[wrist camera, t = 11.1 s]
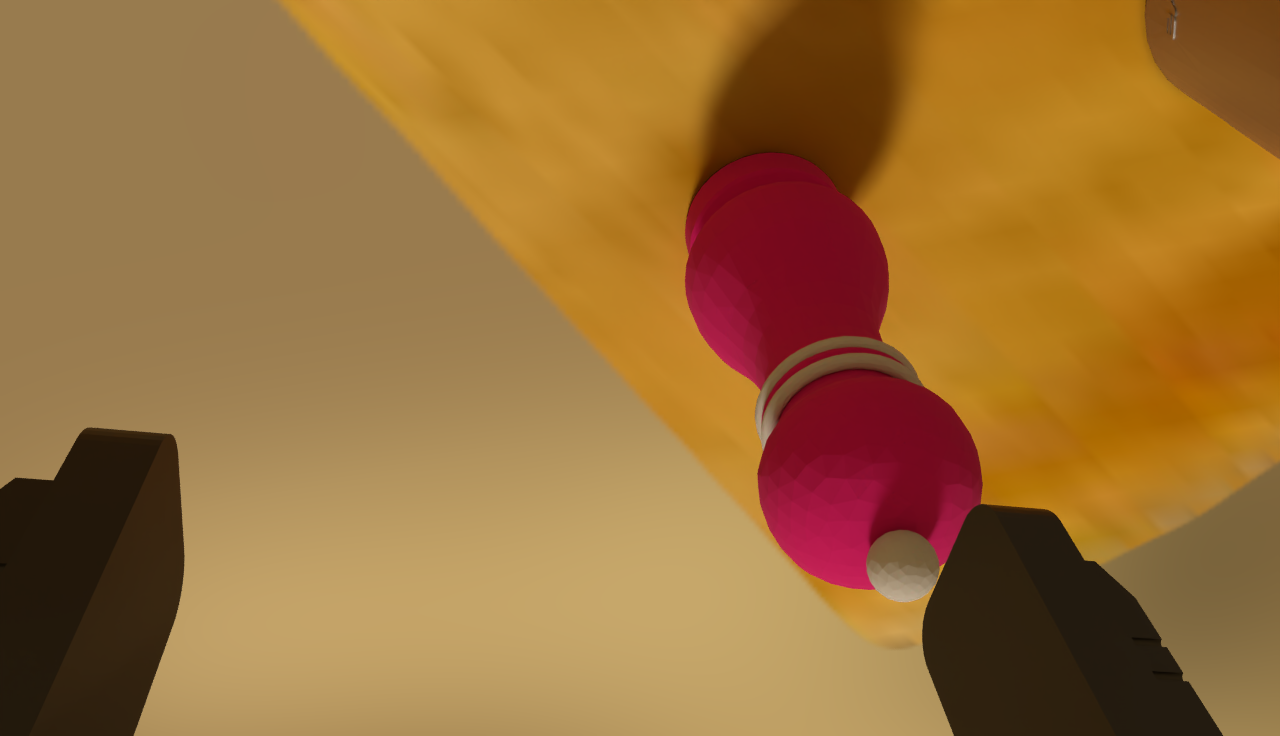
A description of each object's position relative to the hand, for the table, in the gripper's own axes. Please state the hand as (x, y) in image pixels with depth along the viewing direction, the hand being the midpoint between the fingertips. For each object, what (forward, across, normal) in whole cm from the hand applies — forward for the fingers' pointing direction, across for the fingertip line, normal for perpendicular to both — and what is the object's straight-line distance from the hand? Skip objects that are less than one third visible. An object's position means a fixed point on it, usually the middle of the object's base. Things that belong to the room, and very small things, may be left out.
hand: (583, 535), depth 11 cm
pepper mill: (+30, -10, +10) cm, 33 cm away
